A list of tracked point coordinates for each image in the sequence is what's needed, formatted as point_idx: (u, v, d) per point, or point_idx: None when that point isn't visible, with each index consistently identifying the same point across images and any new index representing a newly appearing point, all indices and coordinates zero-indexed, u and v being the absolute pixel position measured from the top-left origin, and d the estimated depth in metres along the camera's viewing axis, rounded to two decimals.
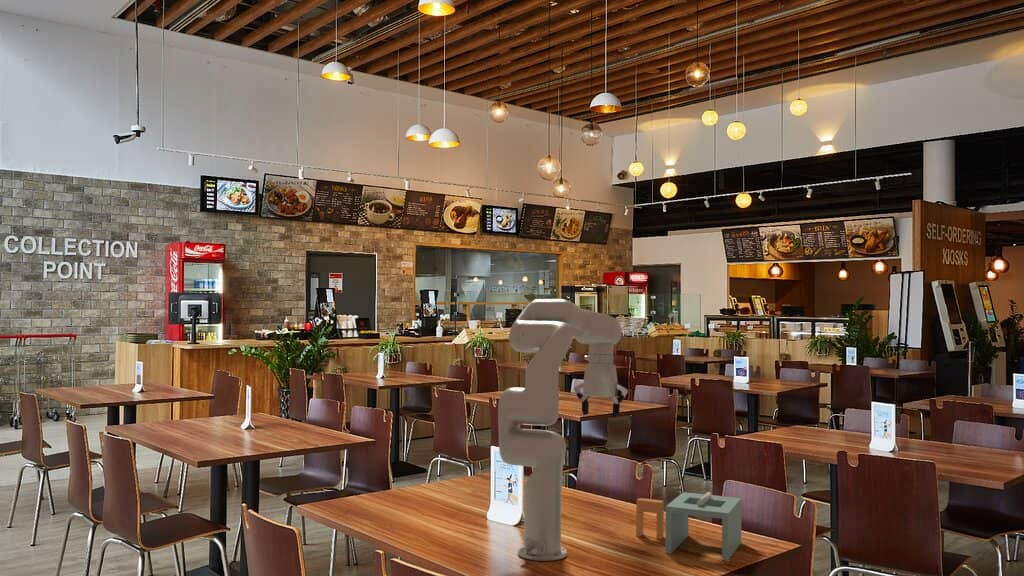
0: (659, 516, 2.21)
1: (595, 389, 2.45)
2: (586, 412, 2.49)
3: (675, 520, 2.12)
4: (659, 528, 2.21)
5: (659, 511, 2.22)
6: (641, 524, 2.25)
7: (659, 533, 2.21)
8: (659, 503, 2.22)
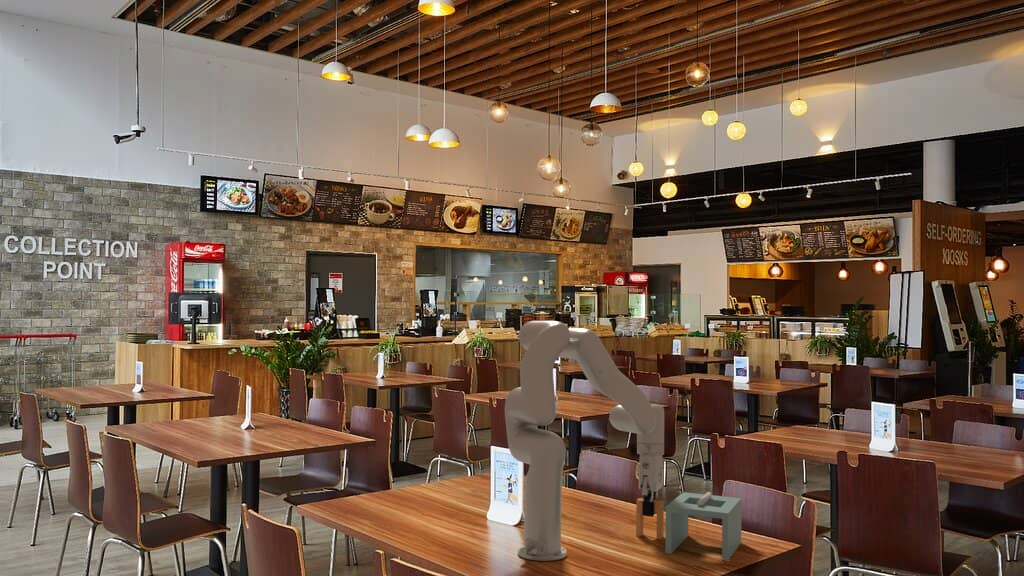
0: (659, 516, 2.21)
1: (659, 482, 2.23)
2: None
3: (675, 520, 2.12)
4: (659, 528, 2.21)
5: (659, 511, 2.22)
6: (641, 524, 2.25)
7: (659, 533, 2.21)
8: (659, 503, 2.22)
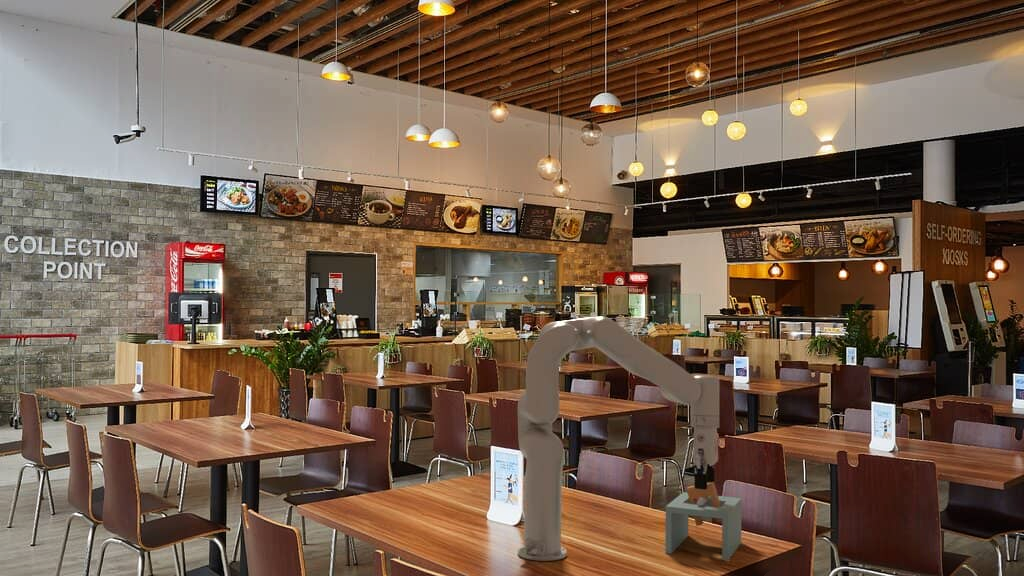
0: (714, 498, 2.11)
1: (714, 456, 2.13)
2: None
3: (675, 520, 2.12)
4: None
5: (712, 493, 2.12)
6: None
7: None
8: (710, 484, 2.12)
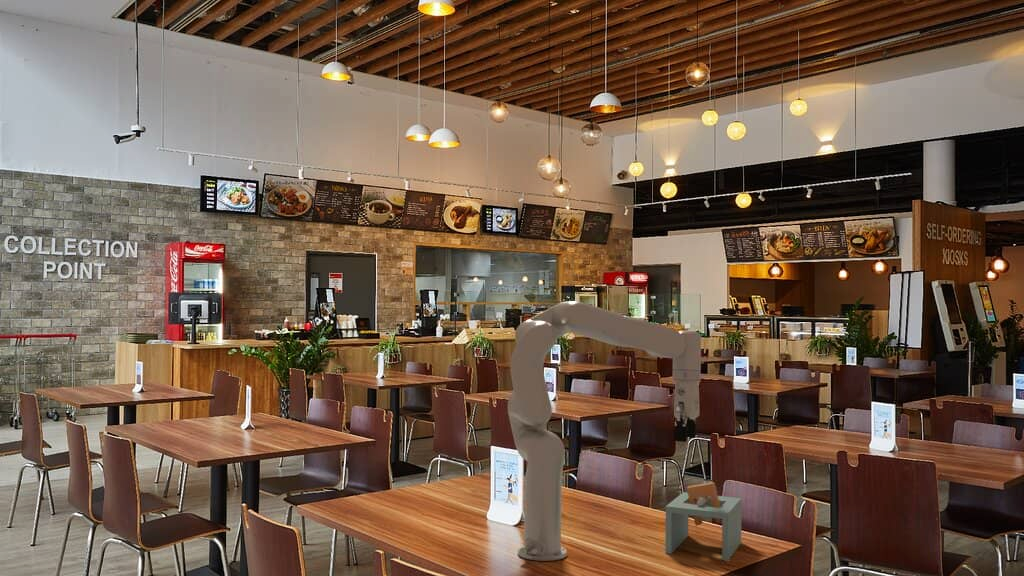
0: (714, 498, 2.11)
1: (695, 410, 2.16)
2: None
3: (675, 520, 2.12)
4: None
5: (712, 493, 2.12)
6: None
7: None
8: (710, 485, 2.12)
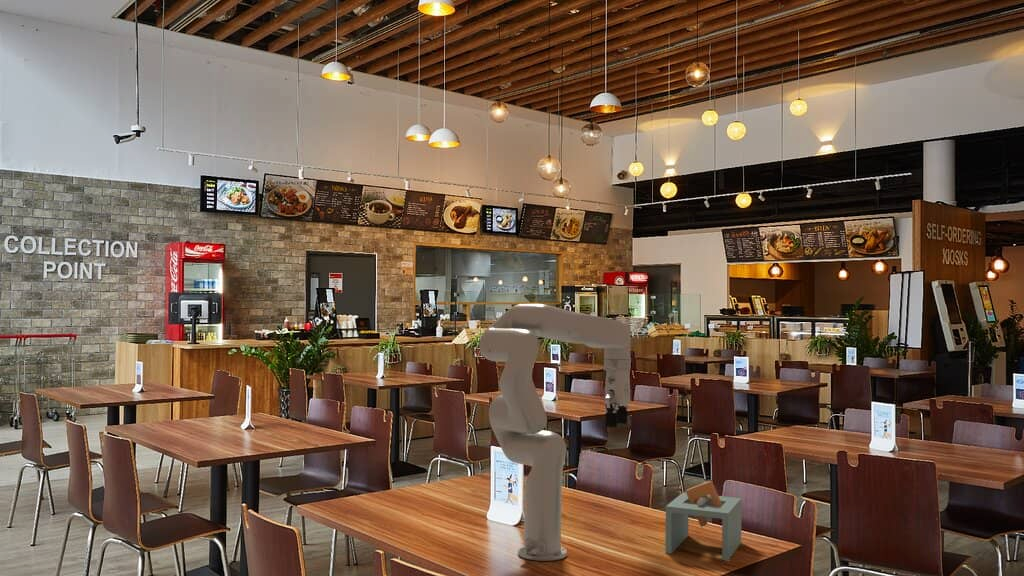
0: (713, 496, 2.11)
1: (625, 397, 2.28)
2: None
3: (675, 520, 2.12)
4: None
5: (711, 491, 2.12)
6: None
7: None
8: (708, 483, 2.12)
